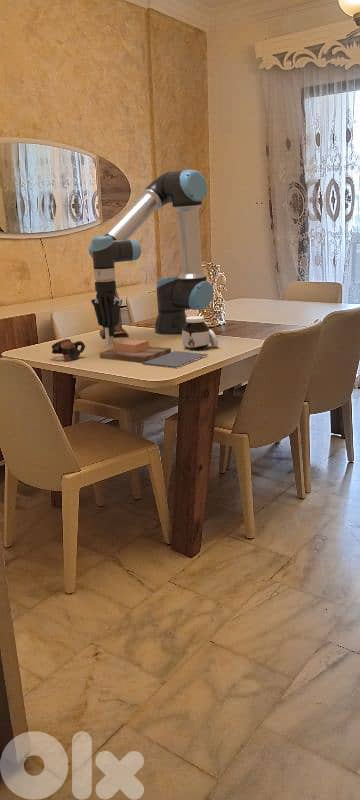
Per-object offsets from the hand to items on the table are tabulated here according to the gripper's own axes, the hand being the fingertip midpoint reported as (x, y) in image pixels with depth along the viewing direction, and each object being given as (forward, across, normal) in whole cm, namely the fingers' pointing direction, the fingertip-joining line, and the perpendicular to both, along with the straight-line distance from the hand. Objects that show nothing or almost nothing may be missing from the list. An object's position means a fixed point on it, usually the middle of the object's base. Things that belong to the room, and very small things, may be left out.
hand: (109, 344), depth 236 cm
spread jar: (+4, +27, +21) cm, 34 cm away
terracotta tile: (+1, +10, 0) cm, 10 cm away
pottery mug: (+4, -8, -13) cm, 16 cm away
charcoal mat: (+3, +29, 0) cm, 30 cm away
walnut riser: (+3, +12, 0) cm, 12 cm away
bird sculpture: (+4, -21, +28) cm, 35 cm away
